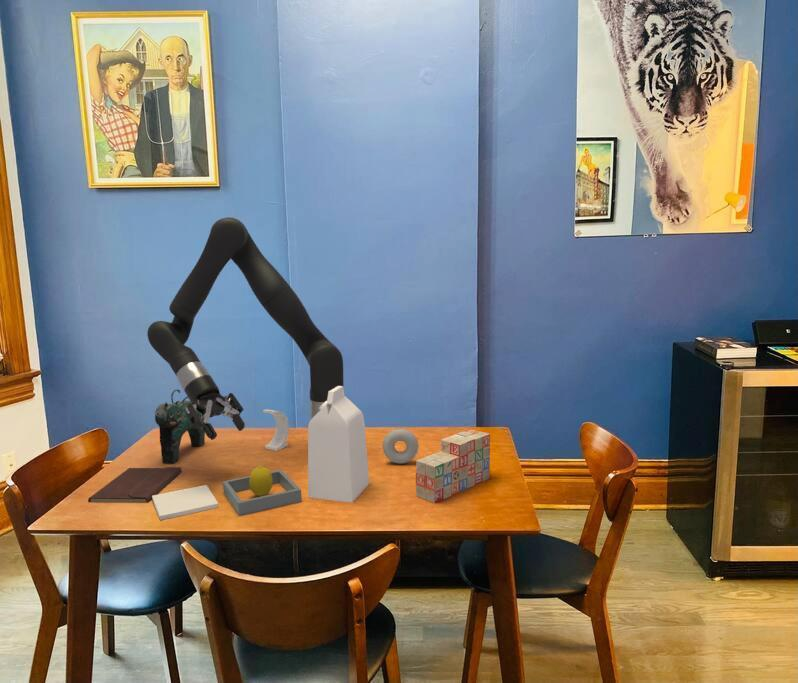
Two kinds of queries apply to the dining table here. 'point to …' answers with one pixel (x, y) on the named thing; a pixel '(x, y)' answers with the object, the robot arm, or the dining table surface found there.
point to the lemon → (260, 481)
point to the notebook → (136, 485)
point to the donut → (397, 455)
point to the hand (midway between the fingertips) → (228, 433)
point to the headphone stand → (278, 430)
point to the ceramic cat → (176, 429)
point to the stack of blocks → (454, 466)
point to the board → (184, 502)
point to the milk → (337, 450)
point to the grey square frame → (264, 501)
